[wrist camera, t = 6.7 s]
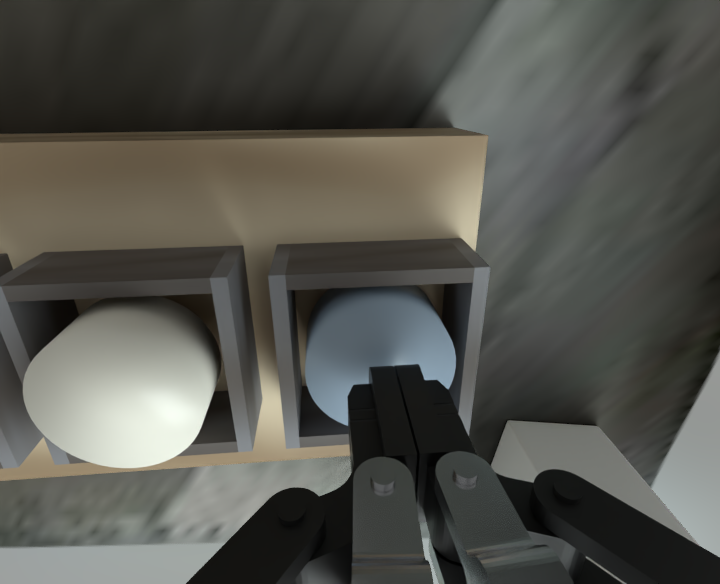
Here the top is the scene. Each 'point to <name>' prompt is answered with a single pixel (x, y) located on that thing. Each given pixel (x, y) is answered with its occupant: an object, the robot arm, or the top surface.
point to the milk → (578, 464)
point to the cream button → (125, 382)
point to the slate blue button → (372, 341)
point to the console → (234, 262)
